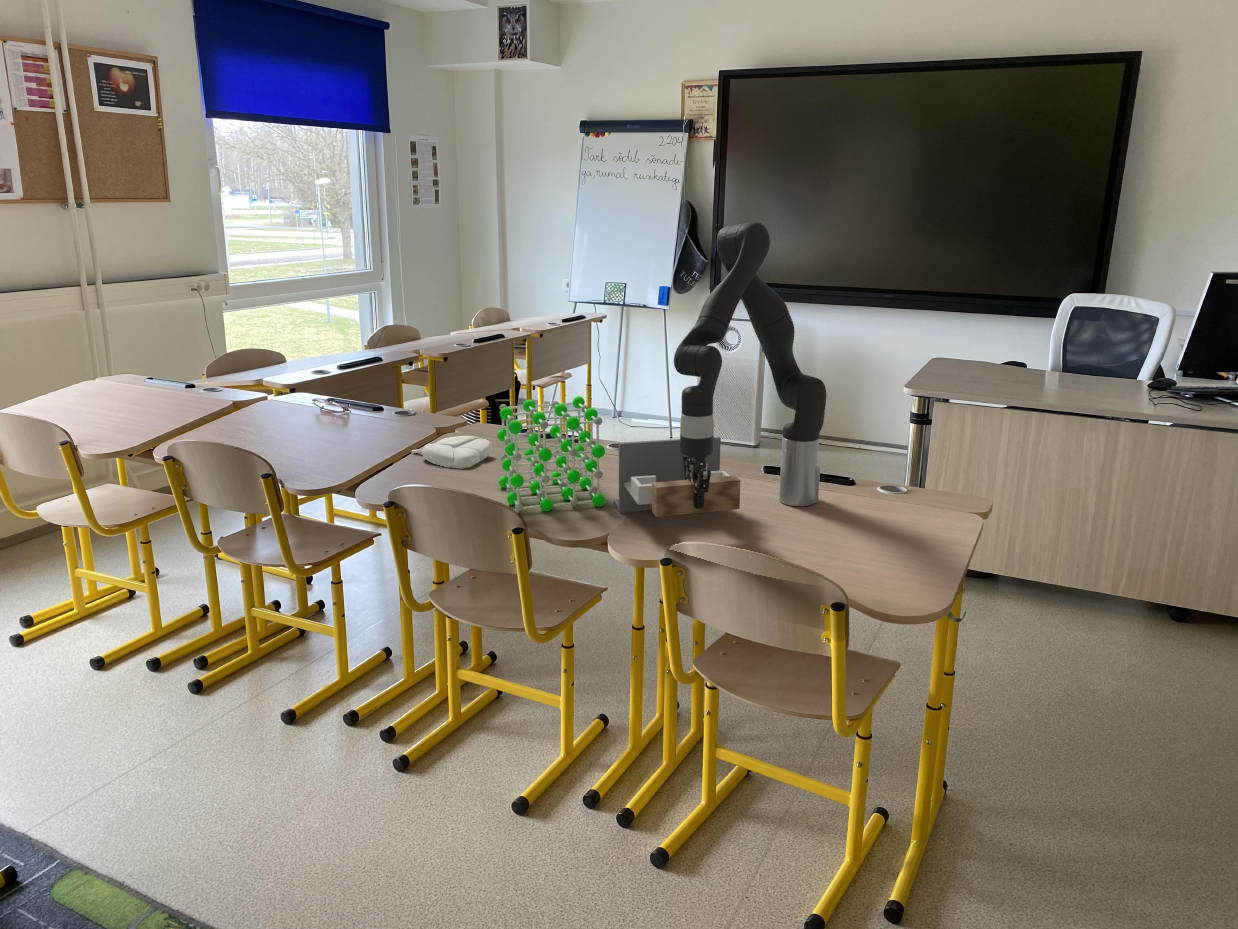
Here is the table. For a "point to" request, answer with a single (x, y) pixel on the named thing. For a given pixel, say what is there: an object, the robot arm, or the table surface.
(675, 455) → the rack
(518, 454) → the molecular structure model
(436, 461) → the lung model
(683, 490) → the rail
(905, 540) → the table surface
